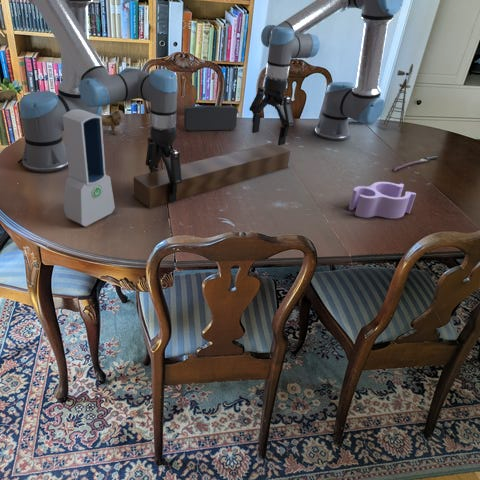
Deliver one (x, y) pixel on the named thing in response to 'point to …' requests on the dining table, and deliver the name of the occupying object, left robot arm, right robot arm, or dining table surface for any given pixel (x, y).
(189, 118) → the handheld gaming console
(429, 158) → the sword
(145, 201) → the wide beam
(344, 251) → the dining table surface
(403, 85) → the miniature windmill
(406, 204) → the clip
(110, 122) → the lion figurine
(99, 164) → the electronic device
